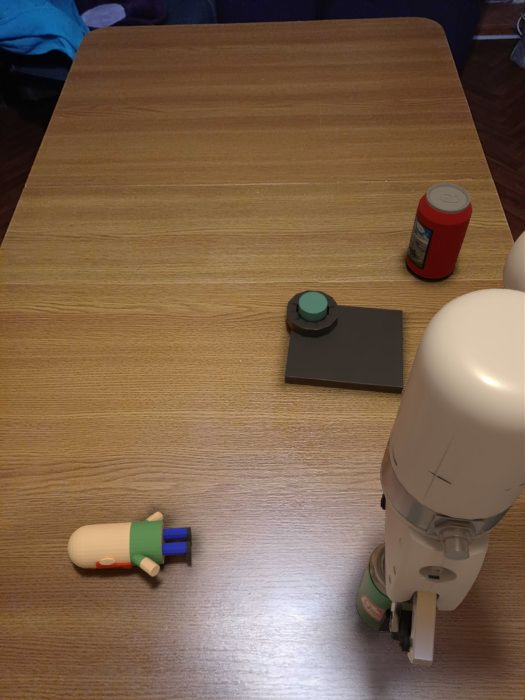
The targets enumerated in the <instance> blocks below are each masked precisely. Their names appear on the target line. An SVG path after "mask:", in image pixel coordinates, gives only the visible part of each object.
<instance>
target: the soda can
mask: <svg viewBox="0 0 525 700" xmlns="http://www.w3.org/2000/svg"><path fill="white" fill-rule="evenodd" d="M355 605H356V610H357V613H358V615H359V617H360V619H361V620H362V621H363V623H365V625H367V626H368V627H369V628H371V630H374V631H377V632H381V633H383V632H382V631H379V621H380V620H381V618H382V616H383V614H384V613H385V611H386V610H387V609H388V608H391V606H392V601H391V600H390V599H389V597H388V596H387V594H386V580H385V541H384V542H382V543H380V544H379V545H378V546H376V548H374V550H373V551H372V553H371V554H370V557H369V560H368V563H367V565H366V568H365V571H364V573H363V576H362V579H361V581H360V585H359V588H358V589H357V593H356V597H355ZM402 610H409V611H413V603H406V602H403V606H402Z"/></svg>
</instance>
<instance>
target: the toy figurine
mask: <svg viewBox="0 0 525 700" xmlns="http://www.w3.org/2000/svg"><path fill="white" fill-rule="evenodd" d="M164 519H165V518H164V515H163V514H162V512H160V511H155V512H154V513H153V514H151V515H150V516H148V517H147V518H146V519H144V520H143V521H131V522H130V521H129V522H126V521H125V522H114V523H113V522H112V523H110V522H109V523H97V524H95V523H94V524H85V525H83V526H80V527H79V528H77V529H76V530H74V531H73V532H72V534H71V536H70V537H69V539H68V541H67V547H66V549H67V555H68V557H69V559H70V561H71V562H72V563H73V564H74V565H75V566H76V567H79V568H82V569H91V570H96V569H110V568H111V569H114V568H123V569H133V568H134V566H137V567H139V568H140V569H141V570H142V571H144V572H145V573H146V574H148V575H149V576H150V577H155V576H156V575H158V573H159V572H160V570H161V567H160V565H163V564H165V558H166V557H165V556H173V555H174V556H175V555H186V562H188V563H189V562H192V546H193V544H192V543H193V542H192V538H193V537H192V527H191V526H188V527H187V526H186V527H169V528H165V522H164ZM175 540H177V541H176V542H166V541H175ZM178 540H186V541H178Z"/></svg>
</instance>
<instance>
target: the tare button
mask: <svg viewBox="0 0 525 700" xmlns="http://www.w3.org/2000/svg"><path fill="white" fill-rule="evenodd" d="M327 305H328V302H327V299H326V298H325V296H324V295H322V294H320V293H318V292H308V293H305V294H304V295H302V296H301V297H300V299H299V309H298V312H299V315H300V316H301V318H303V319H304V320H306V321H309V322H317V321H320V320H322V319H323V318H324V317H325V316H326V314H327Z"/></svg>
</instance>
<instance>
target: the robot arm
mask: <svg viewBox="0 0 525 700" xmlns="http://www.w3.org/2000/svg"><path fill="white" fill-rule="evenodd" d="M502 282H503V288H498V287H497V288H483V289H479V290H474V291H470V292H466V293H464V294H462V295H459V296H457V297H455V298H454V299H452V300H450V301H448V302H447V303H446V304H444V305H443V306H442V307H441V308H439V310H438V311H437V312H436V313H435V314H434V315H433V316H432V317H431V319H430V321H428V323H427V324H426V326H425V329H424V331H423V334H422V335H421V339H420V341H419V343H418V346H417V349H416V353H415V355H414V358H413V362H412V365H411V368H410V371H409V375H408V377H407V381H406V384H405V387H404V391H403V393H402V397H401V400H400V403H399V407H398V410H397V412H396V416H395V419H394V422H393V425H392V428H391V430H390V434H389V436H388V441H387V443H386V446H385V449H384V453H383V455H382V458H381V462H380V463H381V464H380V468H379V480H380V486H381V490H382V495H381V498H380V506H379V507H380V508H381V509H382V510H383V511H385V512H384V513H385V515H384V516H385V517H384V542H385V580H386V594H387V596H388V597H389V599H390V600H391V601H392V606H391V608H388V609H387V610H386V611H385V613H384V614H383V616H382V618H381V620H380V621H379V631H378V632H380V631H382V632H381V633H391V640H392V641H395V642H398V646H399V647H400V649H401V652H402V653H407V658H408V660H409V661H410V663H411V664H414V665H420V666H429V667H432V666H433V662H434V650H435V633H436V631H435V630H436V615H437V610H438V611H446V612H447V611H449V612H451V611H454V610H456V609H457V608H458V607H459V606H460V604H461V603H462V602H463V601H464V599H465V598H466V597H467V595H468V594H469V592H470V590H471V589H472V587H473V586H474V583H475V582H476V580H477V578H478V575H479V574H480V571H481V570H482V566H483V564H484V561H485V559H486V555H487V551H488V548H489V543H490V534H491V533H490V532H491V531H492V530H493V529H495V528H496V527H497V526H498V524H500V522H501V521H502V520H503V518H504V517H505V515H506V514H507V513H508V512H509V510H510V509H511V508H512V506H514V504H515V503H516V502H517V500H518V499H519V498H520V496H521V495H522V494H523V492H524V491H525V230H523V232H522V233H521V234H519V236H518V237H517V239H516V240H515V241H514V243H513V244H512V246H511V248H510V249H509V251H508V253H507V255H506V258H505V261H504V265H503V269H502ZM403 602H406V603H413V611H409V610H402V606H403Z"/></svg>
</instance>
